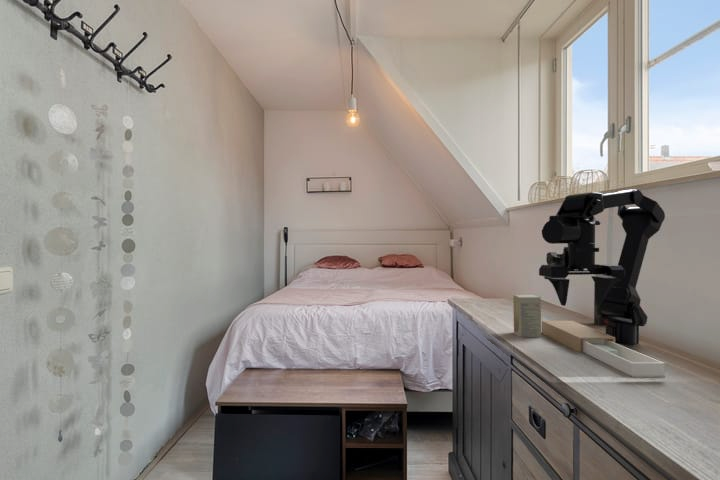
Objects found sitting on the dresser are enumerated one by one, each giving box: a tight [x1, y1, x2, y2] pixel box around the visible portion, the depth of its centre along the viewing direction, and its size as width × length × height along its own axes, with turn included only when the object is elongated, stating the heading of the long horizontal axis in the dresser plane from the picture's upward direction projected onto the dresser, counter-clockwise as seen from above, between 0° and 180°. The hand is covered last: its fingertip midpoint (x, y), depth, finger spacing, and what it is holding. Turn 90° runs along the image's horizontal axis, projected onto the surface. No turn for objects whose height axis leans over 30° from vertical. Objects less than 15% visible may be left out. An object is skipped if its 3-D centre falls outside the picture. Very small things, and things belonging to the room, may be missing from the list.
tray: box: [581, 339, 666, 379], centre depth 74 cm, size 7×16×3 cm, turn 1°
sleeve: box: [541, 320, 615, 353], centre depth 88 cm, size 9×16×4 cm, turn 1°
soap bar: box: [593, 344, 618, 356], centre depth 78 cm, size 3×5×2 cm, turn 1°
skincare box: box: [512, 294, 542, 338], centre depth 94 cm, size 6×4×12 cm
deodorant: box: [593, 281, 607, 327], centre depth 107 cm, size 6×6×15 cm
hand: (580, 305), depth 82 cm, fingers open, 9 cm apart
